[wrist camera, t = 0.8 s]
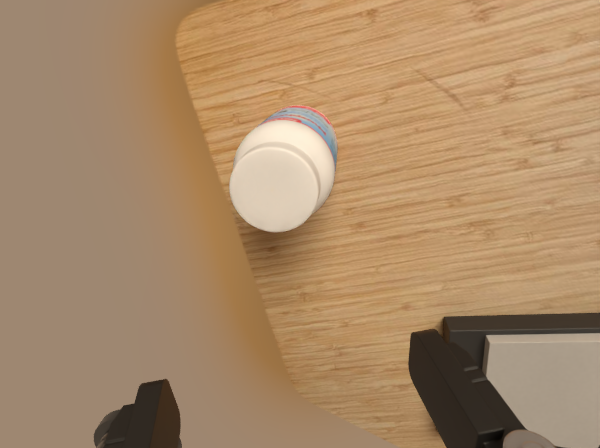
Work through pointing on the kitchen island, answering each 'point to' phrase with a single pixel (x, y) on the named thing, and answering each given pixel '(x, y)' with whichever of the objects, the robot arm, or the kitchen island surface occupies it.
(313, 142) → the pill bottle
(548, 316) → the scale
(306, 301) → the kitchen island surface
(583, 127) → the kitchen island surface
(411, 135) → the kitchen island surface
